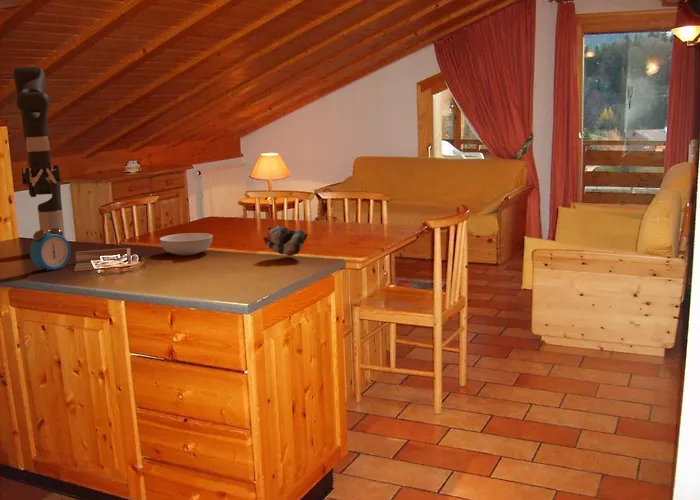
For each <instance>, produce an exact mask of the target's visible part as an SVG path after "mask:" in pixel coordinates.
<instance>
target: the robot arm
mask: <svg viewBox="0 0 700 500" xmlns="http://www.w3.org/2000/svg"><path fill="white" fill-rule="evenodd" d="M45 74H46V73H45V71H44V69H43V68H42V67H39V66H25V67H24V66H22V67H21V66H20V67H15V68H14V70H13V80H14V86H15V89H16V95H17V96H16V100H15V101H16V107H17V109H18V110H19V111H20V115H21V123H22V131H23V136H24V137H23V138H24V143H25V147H26V153H27V163H28V167H22V168H21V181H22V185H23V186H27V187H28V194H29V196H30V197H31V198H36V197H37V196H38V195H39V196H41V195H51V198H49V199H48V200H46V201H44V202H42V203H39V204H38V205H37V215H38V224H39V230H44V231H46V233H49V234H52V233H50V231H48V230H51V229H53V228H59V229H60V230H62V232H63V237H64V238H65V239H66V236H65V235H66V234H65V225H64V224H65V223H64V215H63V203H62V195H61V193H62V192H61V181H62V180H61V175H60V173H61V172H60V167H59V164H52V165H51V162H52V158H51V157H52V155H51V147H50V146H51V145H50V141H51V140H50V138H51V137H50V131H49V125H48V123H47V119H48V112H49V108H50V96H49V95H48V94H47V93H46V92H45V90H46V87H47V81H46V80H47V78H46V75H45ZM47 231H48V232H47Z"/></svg>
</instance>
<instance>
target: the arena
mask: <svg viewBox="0 0 700 500" xmlns="http://www.w3.org/2000/svg"><path fill="white" fill-rule="evenodd" d="M74 254H75V261H76V262H75V266H74V268H73V272H76V273H77V272H87V271H96V270H95V269H94V268H93V267H92V266H91V265H90V261H91V260H99V259H100V256H102V255H103V256H104V255H117V254H120V255H124V254H127V260H128V264H131V265H132V259H131V258H132V254H131V248H130V247H125V248H124V247H123V248H113V249H110V248H109V249H101V250H100V249H97V250H86V251H76V252H75V253H74Z"/></svg>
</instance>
